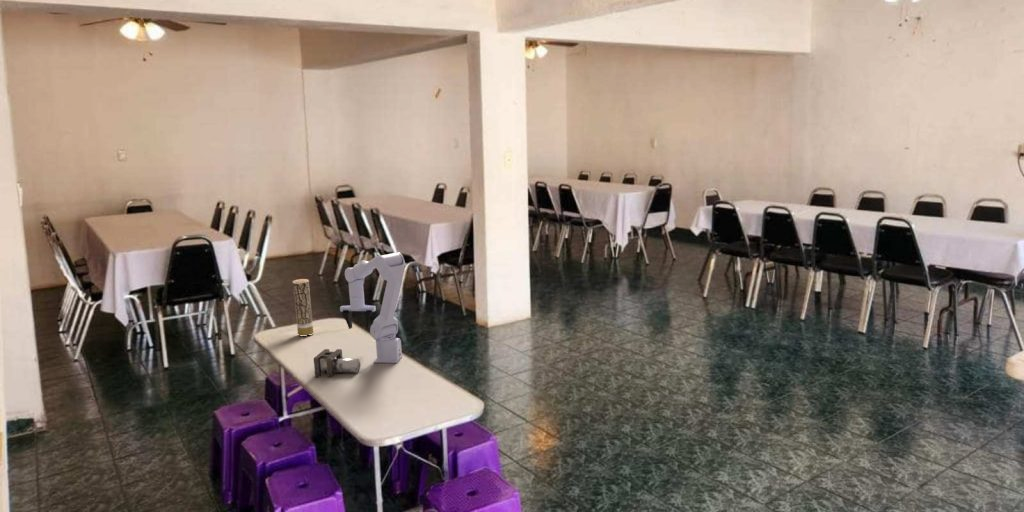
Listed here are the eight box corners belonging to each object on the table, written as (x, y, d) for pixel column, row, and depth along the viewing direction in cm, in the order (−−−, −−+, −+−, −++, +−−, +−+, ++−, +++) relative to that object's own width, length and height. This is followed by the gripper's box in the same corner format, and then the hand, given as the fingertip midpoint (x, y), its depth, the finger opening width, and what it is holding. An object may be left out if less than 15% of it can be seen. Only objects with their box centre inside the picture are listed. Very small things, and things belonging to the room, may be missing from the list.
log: (309, 337, 316) (304, 282, 312) (295, 337, 318) (289, 282, 313) (316, 332, 323) (311, 279, 318) (302, 332, 324) (297, 278, 320)
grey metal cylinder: (361, 369, 272) (360, 355, 270) (355, 375, 265) (354, 361, 264) (323, 369, 274) (322, 355, 273) (317, 374, 268) (316, 360, 267)
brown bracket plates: (343, 367, 275) (341, 349, 273) (332, 377, 265) (330, 358, 263) (326, 367, 276) (324, 349, 274) (315, 377, 266) (313, 358, 264)
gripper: (377, 293, 292) (379, 325, 295) (343, 293, 295) (346, 325, 297) (371, 297, 286) (374, 330, 288) (336, 297, 288) (339, 330, 290)
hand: (359, 328), depth 292 cm, fingers open, 7 cm apart
